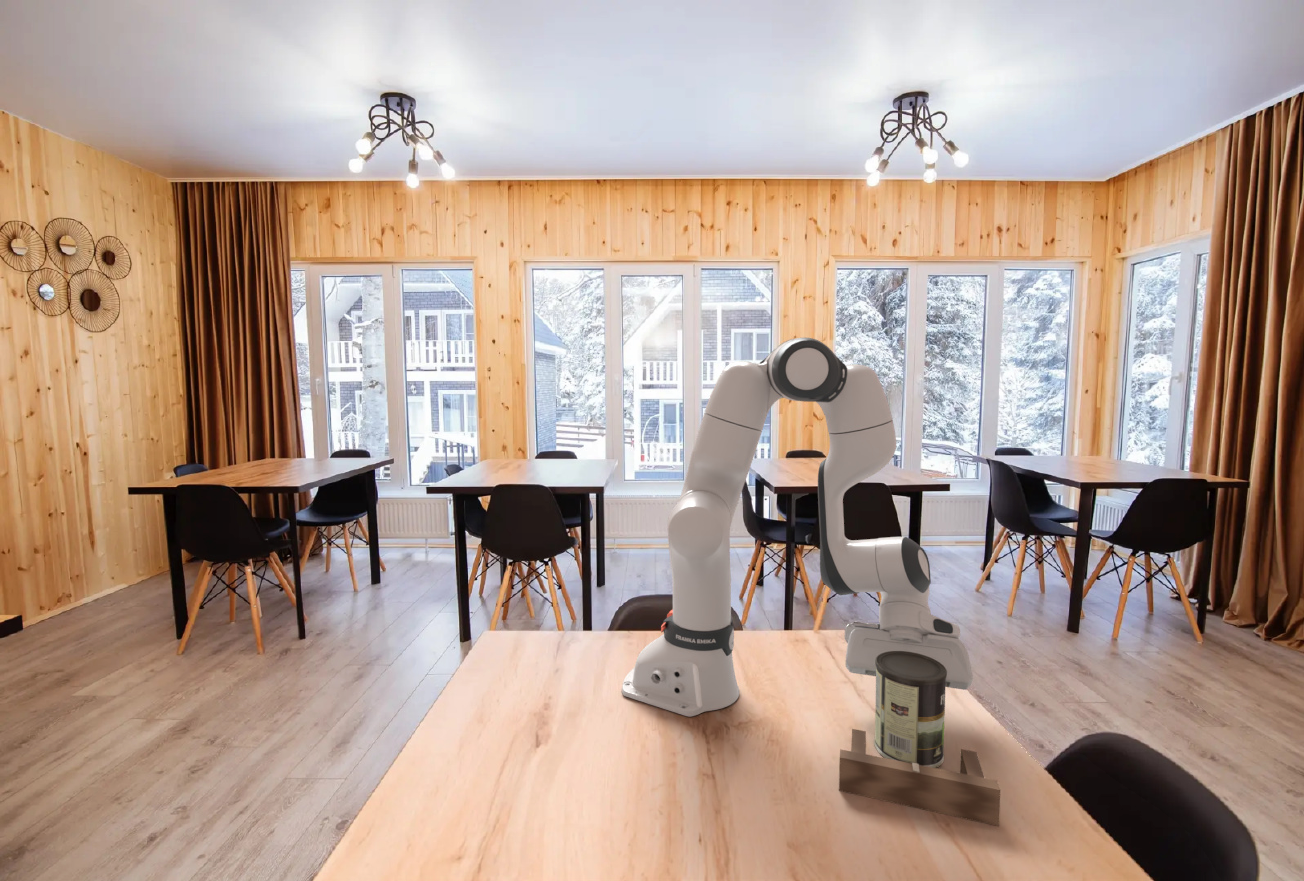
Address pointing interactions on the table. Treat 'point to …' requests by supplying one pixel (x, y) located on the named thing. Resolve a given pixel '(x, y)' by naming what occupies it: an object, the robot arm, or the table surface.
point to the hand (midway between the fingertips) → (907, 706)
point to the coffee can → (910, 708)
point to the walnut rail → (921, 783)
